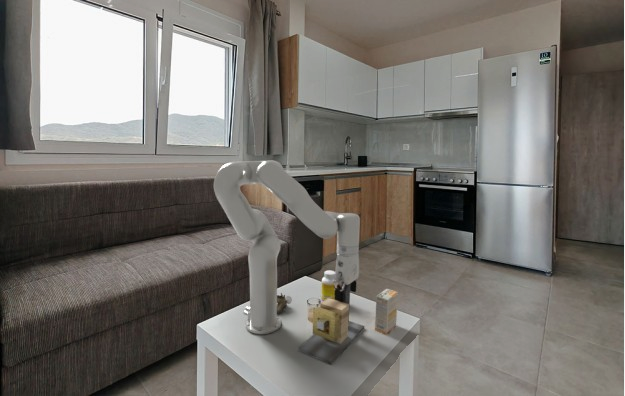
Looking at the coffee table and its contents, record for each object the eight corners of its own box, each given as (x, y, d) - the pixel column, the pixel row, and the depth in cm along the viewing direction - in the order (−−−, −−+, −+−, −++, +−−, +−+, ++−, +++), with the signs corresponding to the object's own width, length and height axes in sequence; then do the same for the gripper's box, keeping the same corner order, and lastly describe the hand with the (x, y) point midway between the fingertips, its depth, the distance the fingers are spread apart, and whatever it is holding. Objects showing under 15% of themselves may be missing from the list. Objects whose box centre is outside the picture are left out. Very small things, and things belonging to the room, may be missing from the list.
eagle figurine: (276, 299, 134) (261, 303, 127) (285, 287, 132) (271, 291, 125) (287, 313, 131) (273, 319, 123) (296, 301, 129) (283, 306, 121)
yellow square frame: (312, 333, 105) (313, 310, 103) (317, 329, 107) (318, 306, 106) (334, 341, 100) (335, 317, 99) (338, 337, 103) (339, 313, 102)
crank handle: (315, 341, 102) (316, 300, 100) (342, 317, 117) (344, 280, 115) (323, 345, 100) (325, 302, 98) (350, 320, 115) (351, 282, 113)
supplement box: (384, 321, 121) (386, 288, 119) (396, 325, 118) (398, 291, 116) (373, 330, 115) (375, 295, 113) (386, 335, 112) (388, 299, 110)
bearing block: (298, 350, 102) (299, 313, 100) (335, 318, 122) (336, 287, 120) (331, 364, 96) (332, 325, 94) (364, 328, 116) (366, 295, 114)
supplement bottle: (335, 306, 132) (336, 276, 130) (319, 304, 133) (320, 274, 132) (337, 298, 139) (338, 270, 137) (322, 297, 140) (323, 268, 138)
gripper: (345, 257, 102) (343, 308, 104) (367, 245, 116) (365, 290, 119) (325, 253, 106) (324, 302, 108) (349, 241, 120) (347, 285, 123)
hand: (345, 295), depth 114 cm, fingers open, 9 cm apart
